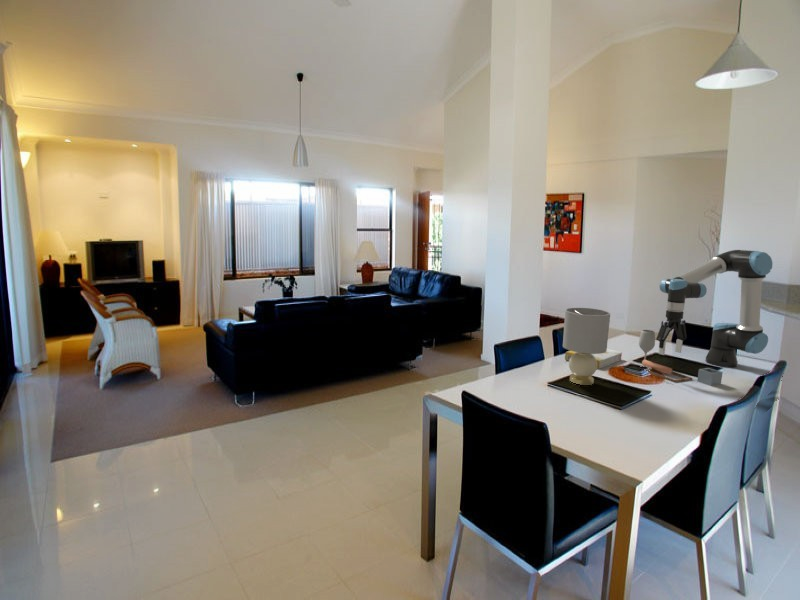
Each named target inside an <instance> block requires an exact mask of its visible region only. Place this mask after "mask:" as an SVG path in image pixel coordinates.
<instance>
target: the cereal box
mask: <svg viewBox="0 0 800 600" xmlns="http://www.w3.org/2000/svg"><path fill="white" fill-rule="evenodd" d="M574 353H576V352H574V351H570V350H568V351H566V352H565V353H564V354H565V355H564V360H565V361H566V362H569V360H570V358H571V356H572V355H573V354H574ZM592 355H593V356H594V357H595V359H596V361H597V369H598V370H599V369H602V368H604V367H607V366H609V365H612V364H614V363H617V362H620V361H621V360H622V355H623V352H622V351H618V350H614V349H611V348H607V351H606V352H604V353H600V354H592Z"/></svg>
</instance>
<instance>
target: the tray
mask: <svg viewBox="0 0 800 600" xmlns="http://www.w3.org/2000/svg"><path fill="white" fill-rule="evenodd" d="M644 370H646V371H648V372H649V373H650V374H649V375H651V376H656V377H658V378H660V379H661V381H662V382H664V380H665V381H666V380H667V381H669V382H672V383H680V382H688V381H692V380H693V377H691V376H688V375H685V374H682V373H679V372H675V371H673V372H672V374H671V375H675V376H678V377H680V378H676V379H673V378H671V377H669V376H665V375H662V374H660V373H662V372H661V371H658V370H655V369H652V368H650V369H644ZM649 370H650V371H649ZM663 379H664V380H663ZM667 381H666V383H667V384H671V385H674V386H675V384H672V383H669V382H667Z"/></svg>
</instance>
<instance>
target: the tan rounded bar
mask: <svg viewBox="0 0 800 600" xmlns="http://www.w3.org/2000/svg"><path fill="white" fill-rule="evenodd" d="M641 365H642V366H643V365H644V366H646V367H647V368H650V369H655V370H658V371H661V372H660V373H664V374H666V375H673V374H672V372H674V370H673V368H671V367H668V366H665V365H662V364H659V363H656V362H653V361H650V360H647V359H646V360H644V359H643V360H642V361H641Z"/></svg>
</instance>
